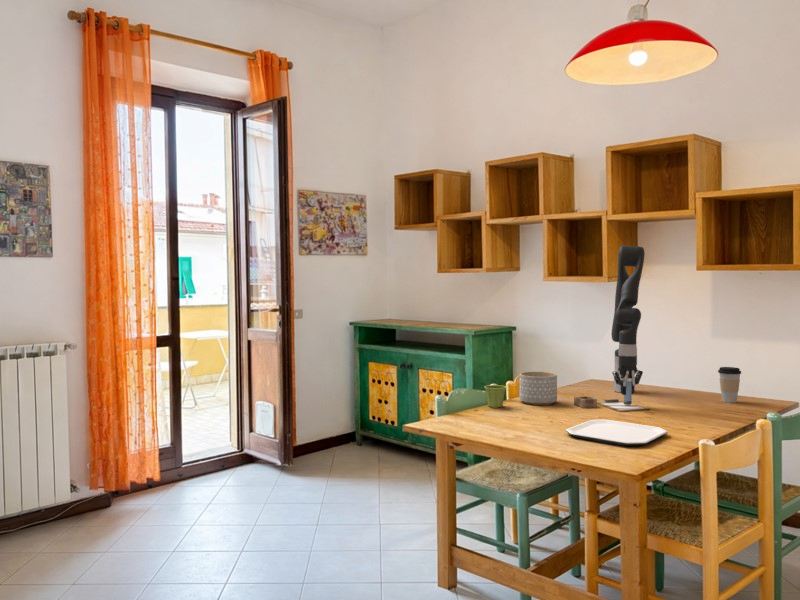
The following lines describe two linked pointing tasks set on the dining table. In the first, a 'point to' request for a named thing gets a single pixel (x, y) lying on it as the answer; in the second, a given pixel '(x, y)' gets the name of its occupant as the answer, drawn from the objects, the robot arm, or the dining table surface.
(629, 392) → the marker
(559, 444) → the dining table surface
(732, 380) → the coffee cup
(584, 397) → the pen block
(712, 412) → the dining table surface
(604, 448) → the dining table surface
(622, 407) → the clipboard
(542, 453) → the dining table surface
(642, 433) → the plate
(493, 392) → the plant pot
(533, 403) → the planter
